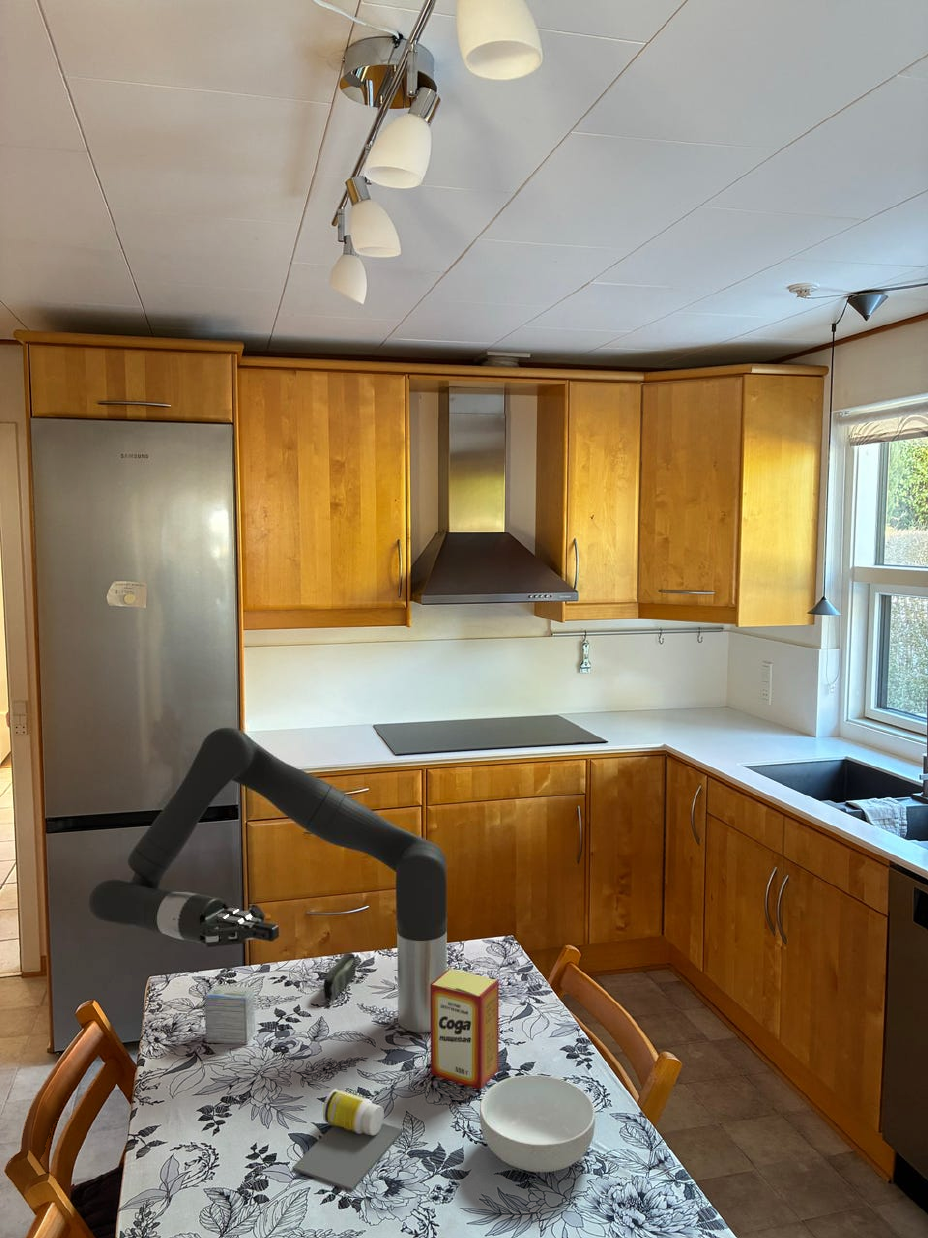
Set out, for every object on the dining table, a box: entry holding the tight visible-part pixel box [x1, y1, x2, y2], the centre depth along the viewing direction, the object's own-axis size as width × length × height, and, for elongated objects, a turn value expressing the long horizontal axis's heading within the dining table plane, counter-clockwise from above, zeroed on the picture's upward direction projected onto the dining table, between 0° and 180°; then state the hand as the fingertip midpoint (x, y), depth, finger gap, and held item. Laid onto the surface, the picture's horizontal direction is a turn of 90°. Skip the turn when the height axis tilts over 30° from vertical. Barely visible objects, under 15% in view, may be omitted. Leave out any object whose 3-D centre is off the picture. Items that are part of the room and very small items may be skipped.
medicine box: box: [204, 985, 256, 1045], centre depth 161 cm, size 8×4×9 cm, turn 84°
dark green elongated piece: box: [323, 952, 356, 1008], centre depth 179 cm, size 5×3×15 cm
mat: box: [291, 1122, 404, 1192], centre depth 130 cm, size 10×14×1 cm
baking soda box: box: [430, 968, 500, 1091], centre depth 149 cm, size 10×6×16 cm
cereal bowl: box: [479, 1074, 596, 1173], centre depth 129 cm, size 17×17×7 cm
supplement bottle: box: [322, 1088, 385, 1135], centre depth 134 cm, size 5×5×8 cm
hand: (276, 933), depth 143 cm, fingers closed
